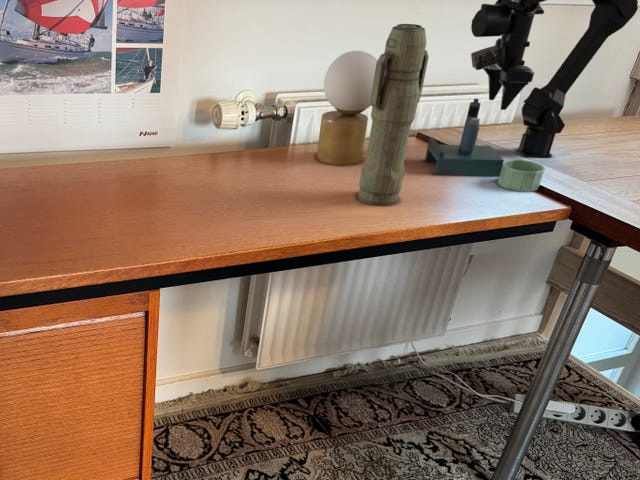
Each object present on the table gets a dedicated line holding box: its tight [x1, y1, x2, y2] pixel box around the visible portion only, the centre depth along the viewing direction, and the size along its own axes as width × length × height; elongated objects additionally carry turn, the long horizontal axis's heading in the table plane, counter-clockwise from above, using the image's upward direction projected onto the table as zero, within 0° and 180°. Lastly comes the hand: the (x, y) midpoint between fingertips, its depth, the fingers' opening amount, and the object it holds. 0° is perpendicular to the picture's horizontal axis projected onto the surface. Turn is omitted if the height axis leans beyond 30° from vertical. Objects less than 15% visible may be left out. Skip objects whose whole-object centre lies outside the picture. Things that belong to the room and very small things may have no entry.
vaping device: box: [459, 98, 481, 155], centre depth 165 cm, size 3×5×12 cm, turn 174°
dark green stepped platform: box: [424, 138, 505, 177], centre depth 169 cm, size 15×11×6 cm
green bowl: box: [497, 159, 546, 193], centre depth 160 cm, size 9×9×4 cm
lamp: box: [316, 50, 378, 166], centre depth 172 cm, size 15×14×25 cm
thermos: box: [357, 23, 430, 206], centre depth 145 cm, size 9×12×35 cm
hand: (497, 104), depth 171 cm, fingers open, 9 cm apart
